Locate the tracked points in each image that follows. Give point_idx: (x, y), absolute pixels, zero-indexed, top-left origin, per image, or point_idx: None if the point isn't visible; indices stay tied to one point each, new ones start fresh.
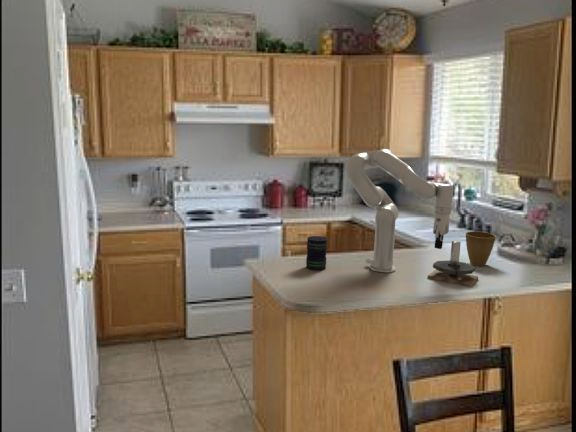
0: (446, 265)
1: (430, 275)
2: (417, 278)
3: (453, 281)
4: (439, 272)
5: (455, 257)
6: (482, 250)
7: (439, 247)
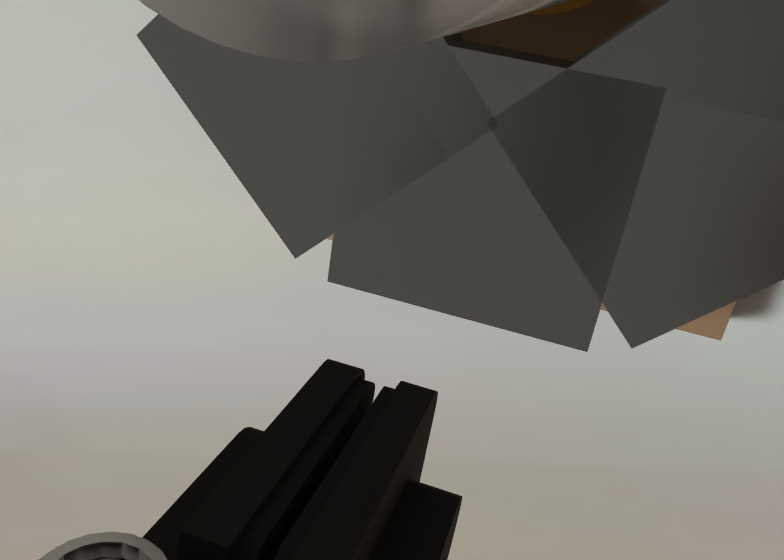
0: (613, 74)
1: None
2: (775, 449)
3: None
4: None
5: None
6: None
7: (415, 455)
